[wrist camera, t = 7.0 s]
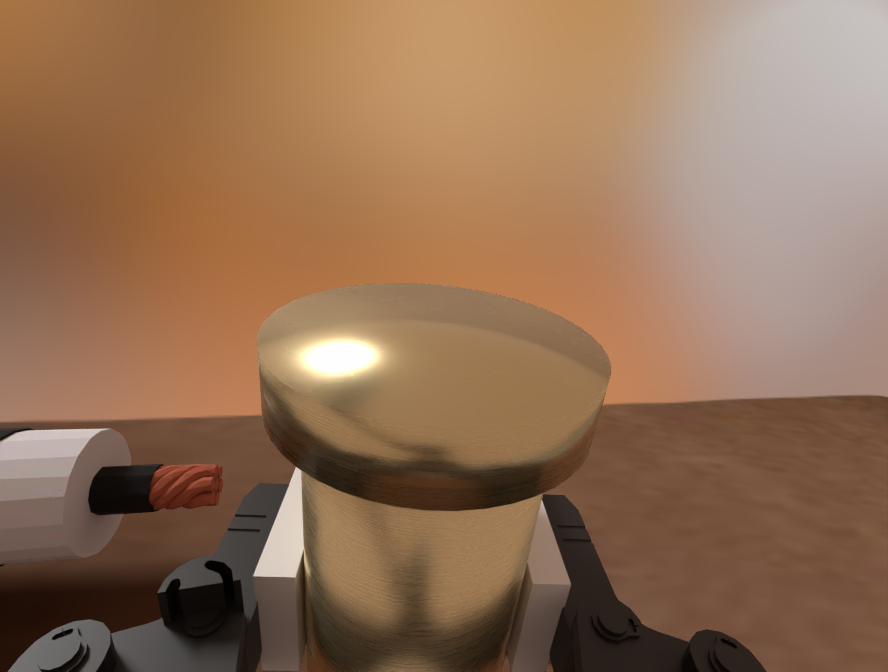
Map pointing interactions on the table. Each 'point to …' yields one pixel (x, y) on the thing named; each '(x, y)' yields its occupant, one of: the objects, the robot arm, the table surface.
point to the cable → (83, 491)
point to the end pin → (423, 462)
